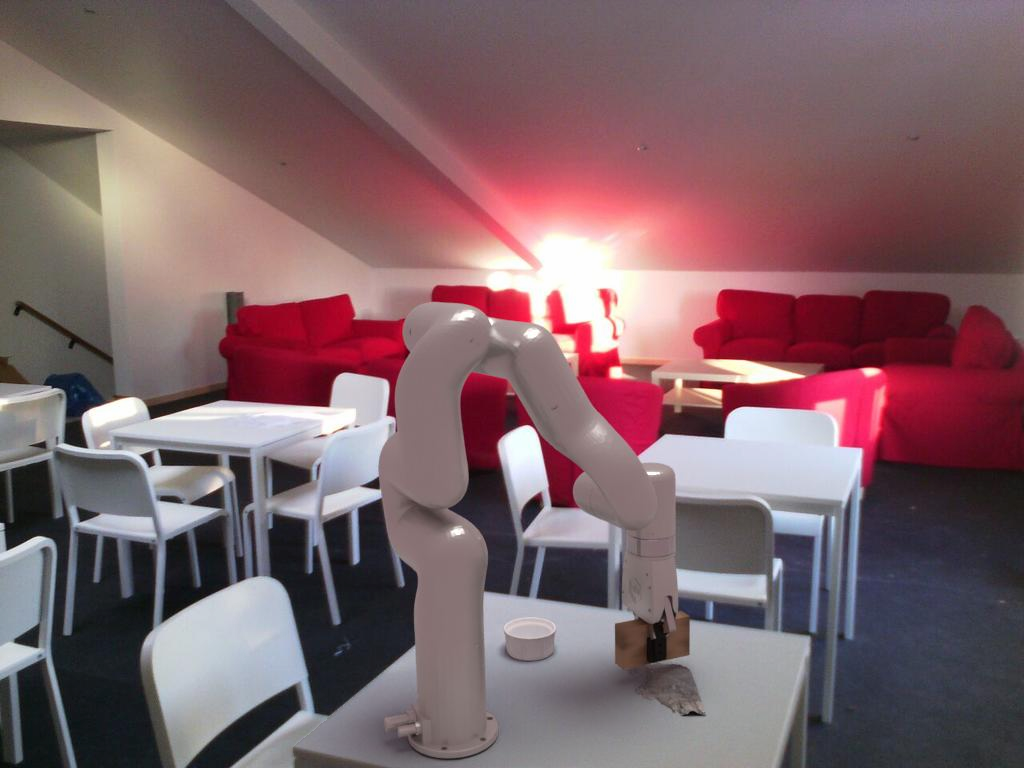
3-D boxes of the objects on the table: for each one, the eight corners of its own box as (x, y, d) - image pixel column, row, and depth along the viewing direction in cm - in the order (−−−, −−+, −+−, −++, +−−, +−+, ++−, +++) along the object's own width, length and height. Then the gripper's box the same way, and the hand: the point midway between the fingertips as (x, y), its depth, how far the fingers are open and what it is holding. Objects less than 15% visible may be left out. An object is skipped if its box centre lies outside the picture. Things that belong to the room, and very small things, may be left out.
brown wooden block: (622, 669, 135) (622, 629, 134) (614, 662, 137) (614, 623, 136) (689, 655, 139) (689, 616, 138) (680, 648, 142) (680, 610, 141)
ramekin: (500, 643, 152) (499, 619, 151) (550, 638, 154) (549, 614, 153) (509, 666, 143) (508, 640, 143) (562, 660, 145) (561, 635, 144)
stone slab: (622, 655, 144) (683, 650, 144) (623, 665, 144) (684, 660, 144) (639, 715, 126) (708, 709, 126) (640, 727, 126) (709, 721, 126)
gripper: (604, 532, 142) (606, 640, 144) (656, 563, 127) (657, 683, 129) (645, 526, 144) (646, 632, 147) (701, 556, 129) (700, 673, 132)
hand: (651, 655), depth 138 cm, fingers closed on brown wooden block, 2 cm apart
